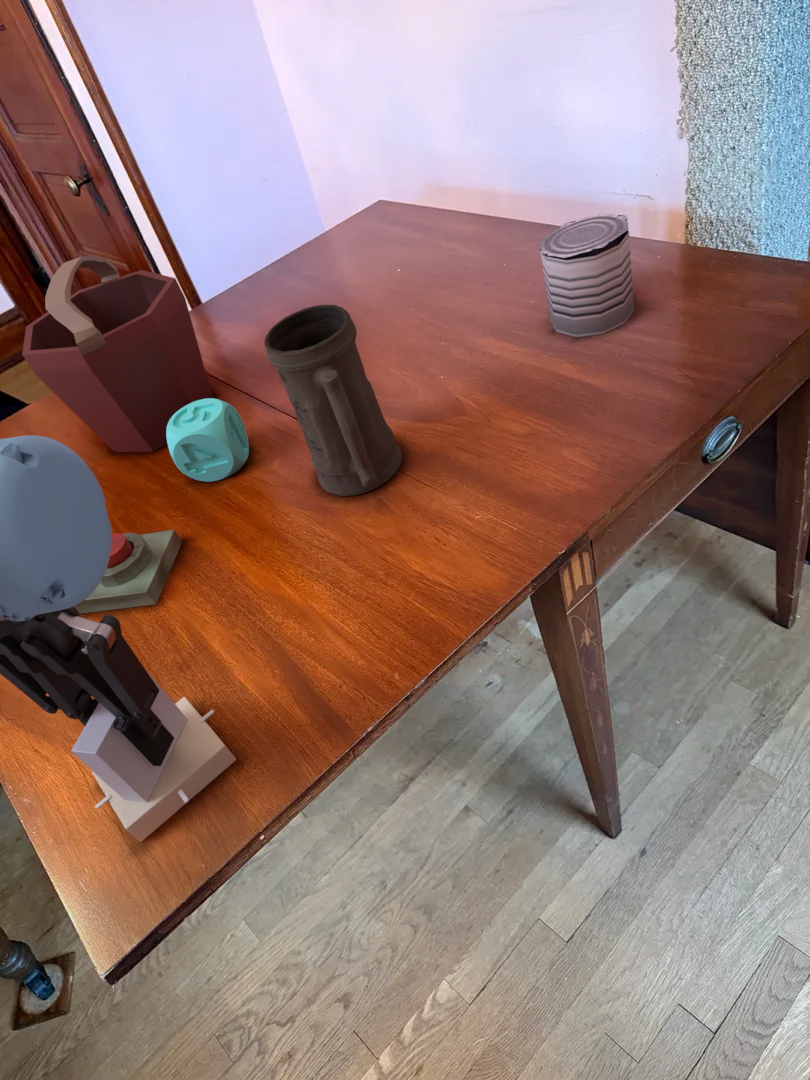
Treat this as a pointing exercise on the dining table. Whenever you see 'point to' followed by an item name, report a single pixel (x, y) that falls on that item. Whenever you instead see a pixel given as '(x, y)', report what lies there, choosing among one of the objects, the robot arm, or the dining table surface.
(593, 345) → the dining table surface
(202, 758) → the tap base
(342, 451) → the beer stein
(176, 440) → the decorative dice
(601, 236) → the can
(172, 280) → the bucket
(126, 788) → the grey lever handle
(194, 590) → the dining table surface
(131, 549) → the button
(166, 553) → the button block
